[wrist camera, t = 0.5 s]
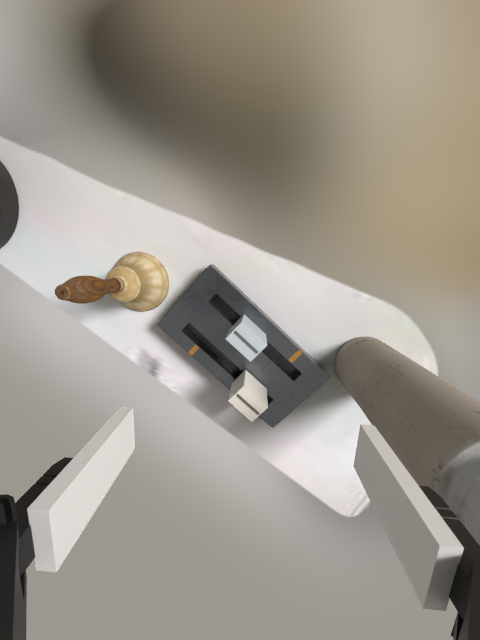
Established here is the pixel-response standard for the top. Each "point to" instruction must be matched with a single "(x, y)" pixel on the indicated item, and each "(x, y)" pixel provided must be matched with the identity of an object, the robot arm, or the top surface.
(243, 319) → the fader
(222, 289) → the console
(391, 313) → the top surface
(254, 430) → the top surface
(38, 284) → the top surface
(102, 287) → the hand bell
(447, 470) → the thermos bottle
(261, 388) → the fader
